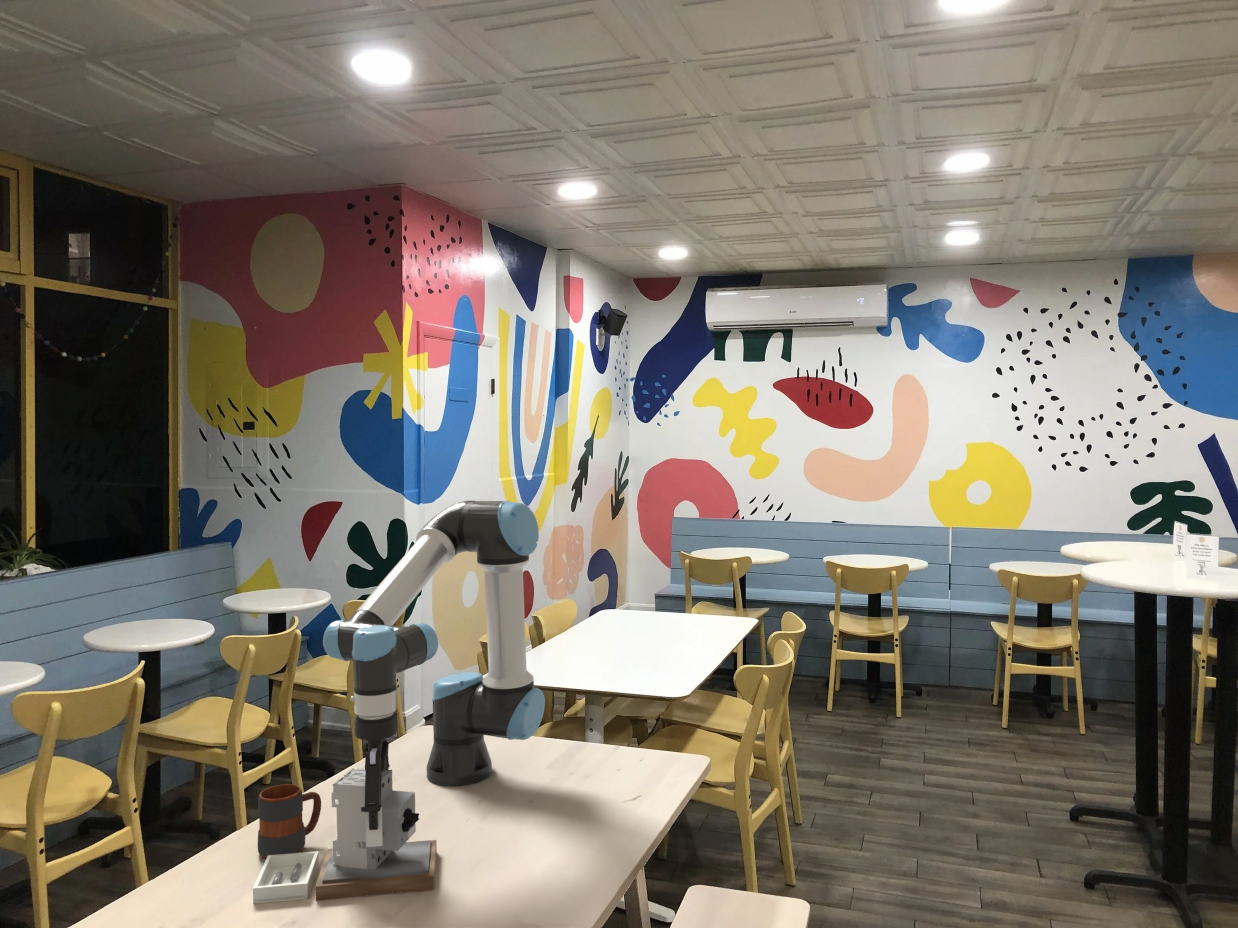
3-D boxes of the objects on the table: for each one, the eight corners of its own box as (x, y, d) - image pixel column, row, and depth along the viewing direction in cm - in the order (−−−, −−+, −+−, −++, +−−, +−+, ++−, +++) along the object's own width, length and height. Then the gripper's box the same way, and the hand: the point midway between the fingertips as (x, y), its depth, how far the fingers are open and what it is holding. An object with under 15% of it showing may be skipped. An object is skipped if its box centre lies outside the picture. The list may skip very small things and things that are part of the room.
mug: (328, 848, 175) (327, 789, 174) (264, 866, 168) (262, 804, 167) (315, 832, 182) (314, 775, 181) (253, 848, 175) (251, 789, 174)
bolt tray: (268, 869, 166) (268, 855, 166) (319, 865, 168) (318, 850, 168) (253, 903, 155) (252, 888, 155) (307, 898, 156) (307, 883, 156)
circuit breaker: (407, 872, 159) (406, 788, 158) (333, 865, 161) (331, 783, 161) (424, 852, 166) (423, 772, 166) (352, 846, 169) (351, 767, 168)
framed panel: (328, 861, 169) (327, 846, 169) (436, 852, 173) (436, 837, 172) (315, 900, 155) (315, 883, 155) (433, 889, 159) (433, 872, 159)
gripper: (362, 693, 174) (364, 801, 175) (345, 738, 150) (348, 862, 151) (402, 691, 176) (404, 798, 176) (391, 735, 151) (394, 858, 152)
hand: (378, 828), depth 164 cm, fingers open, 13 cm apart
